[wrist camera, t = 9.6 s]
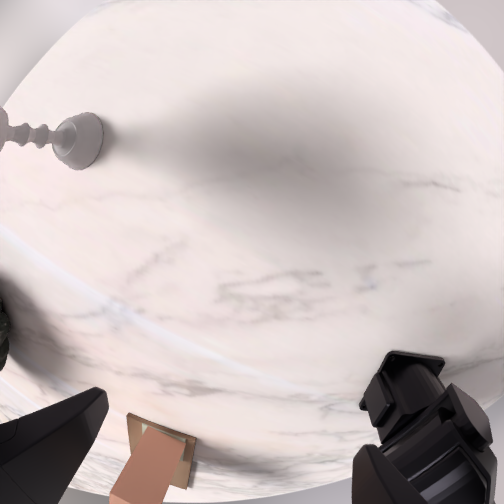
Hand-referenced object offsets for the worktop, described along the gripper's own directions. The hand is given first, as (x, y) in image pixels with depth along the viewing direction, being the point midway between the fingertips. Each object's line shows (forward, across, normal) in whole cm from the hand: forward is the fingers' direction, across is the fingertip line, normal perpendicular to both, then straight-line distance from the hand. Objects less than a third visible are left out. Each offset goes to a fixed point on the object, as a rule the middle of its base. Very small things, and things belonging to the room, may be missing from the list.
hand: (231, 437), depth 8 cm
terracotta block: (+12, +7, +21) cm, 25 cm away
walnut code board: (+13, +8, +25) cm, 30 cm away
